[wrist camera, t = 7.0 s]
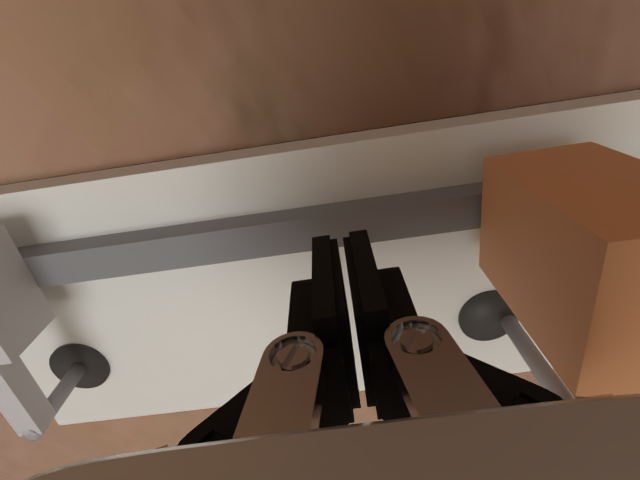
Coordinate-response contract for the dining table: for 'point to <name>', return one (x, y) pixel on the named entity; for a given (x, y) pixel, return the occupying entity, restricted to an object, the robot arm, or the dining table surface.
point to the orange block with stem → (567, 263)
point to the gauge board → (249, 256)
